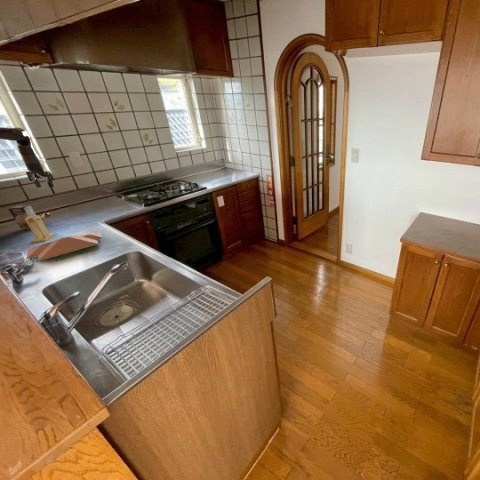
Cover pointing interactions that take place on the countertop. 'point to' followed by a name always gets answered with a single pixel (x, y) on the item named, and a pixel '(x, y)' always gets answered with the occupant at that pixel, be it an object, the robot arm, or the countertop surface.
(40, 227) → the flush bracket
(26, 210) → the coffee box
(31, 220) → the flush lever
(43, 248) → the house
